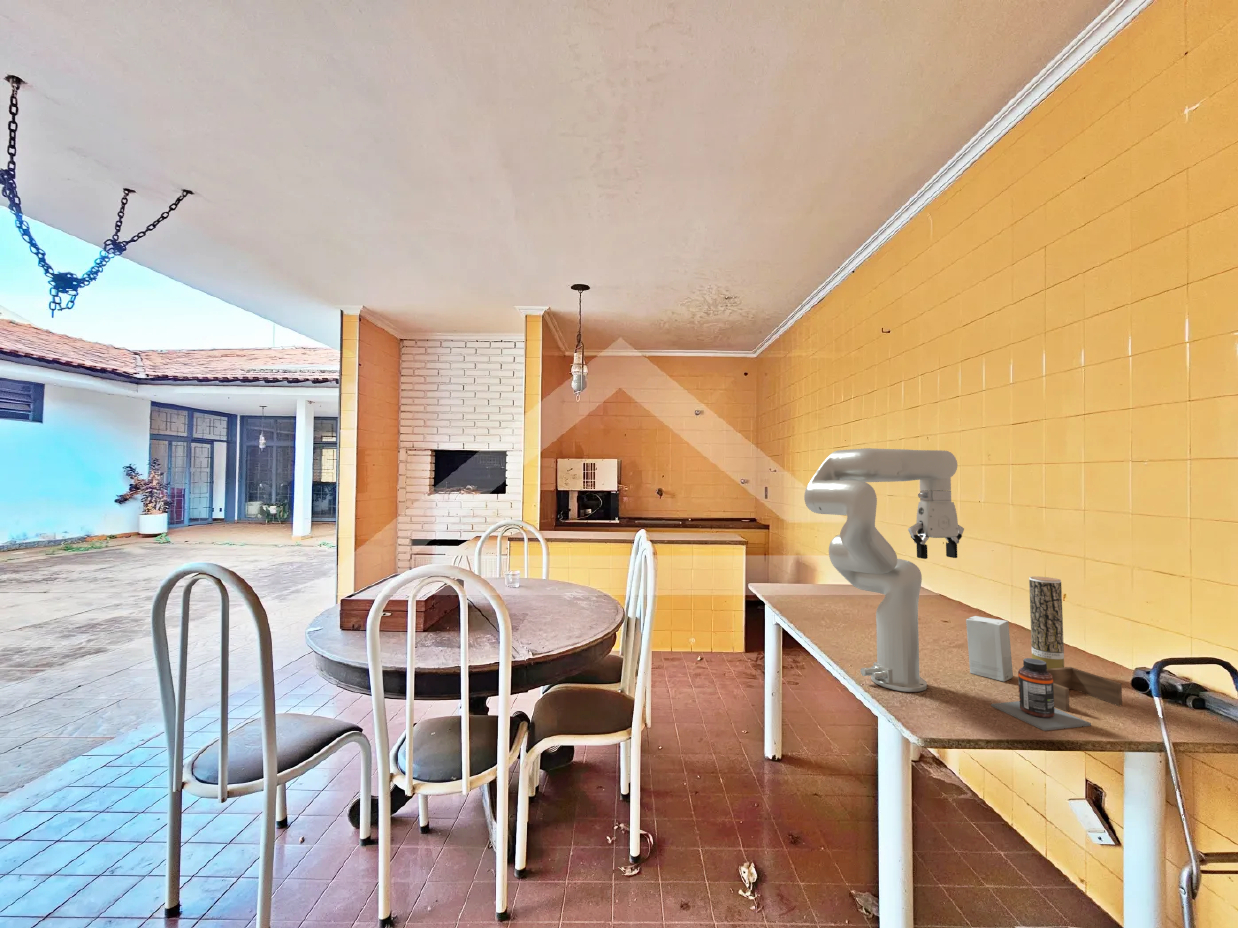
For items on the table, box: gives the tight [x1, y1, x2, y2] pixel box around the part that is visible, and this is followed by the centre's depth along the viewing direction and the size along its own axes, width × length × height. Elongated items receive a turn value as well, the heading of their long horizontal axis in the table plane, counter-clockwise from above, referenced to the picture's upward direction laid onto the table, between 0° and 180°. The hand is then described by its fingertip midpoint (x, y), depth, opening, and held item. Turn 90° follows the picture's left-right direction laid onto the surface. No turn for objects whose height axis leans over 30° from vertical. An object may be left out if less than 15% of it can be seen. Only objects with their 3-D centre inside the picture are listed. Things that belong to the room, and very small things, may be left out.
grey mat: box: [990, 700, 1092, 732], centre depth 111 cm, size 12×12×1 cm
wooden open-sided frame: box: [1017, 666, 1123, 712], centre depth 120 cm, size 16×11×5 cm
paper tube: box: [1028, 576, 1065, 669], centre depth 139 cm, size 7×7×25 cm
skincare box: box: [965, 615, 1014, 682], centre depth 135 cm, size 8×6×15 cm
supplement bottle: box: [1018, 657, 1055, 718], centre depth 112 cm, size 6×6×11 cm
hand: (937, 557), depth 143 cm, fingers open, 9 cm apart
